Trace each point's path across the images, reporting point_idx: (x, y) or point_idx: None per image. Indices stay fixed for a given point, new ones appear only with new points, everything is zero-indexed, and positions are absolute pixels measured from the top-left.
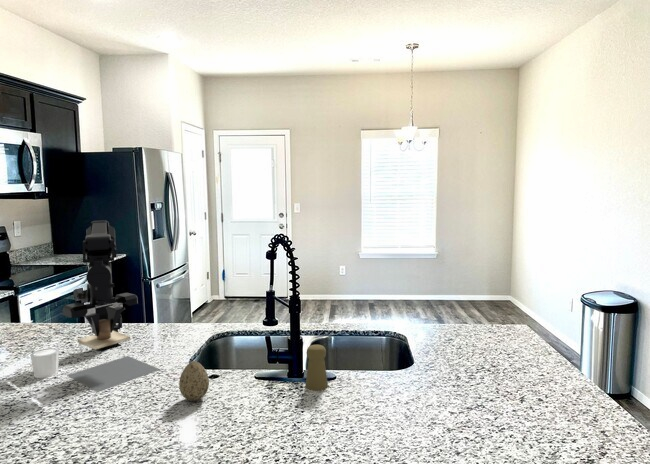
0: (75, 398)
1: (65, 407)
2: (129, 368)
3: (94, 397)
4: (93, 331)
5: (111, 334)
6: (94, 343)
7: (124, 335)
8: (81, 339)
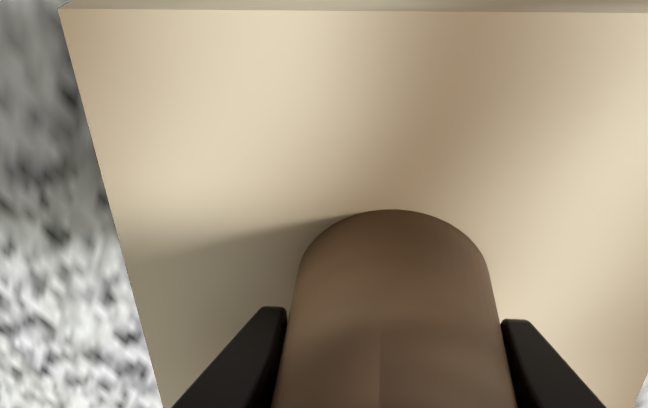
0: (99, 256)
1: (39, 303)
2: None
3: None
4: (219, 363)
5: (568, 235)
6: (205, 361)
7: (614, 399)
8: (115, 74)
